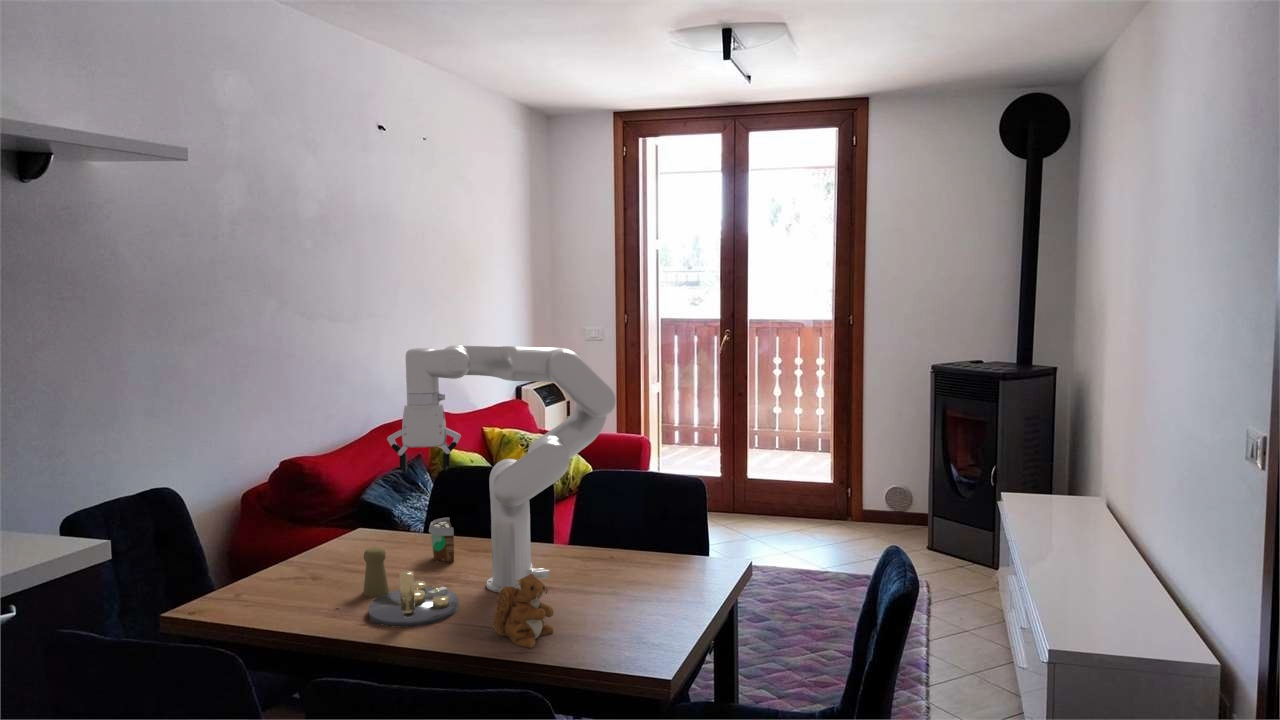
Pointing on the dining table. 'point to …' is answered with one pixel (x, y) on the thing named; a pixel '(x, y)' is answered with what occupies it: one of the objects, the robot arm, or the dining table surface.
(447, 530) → the food container
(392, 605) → the base
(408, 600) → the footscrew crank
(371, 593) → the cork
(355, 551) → the dining table surface
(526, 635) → the stuffed squirrel
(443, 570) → the dining table surface
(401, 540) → the dining table surface
